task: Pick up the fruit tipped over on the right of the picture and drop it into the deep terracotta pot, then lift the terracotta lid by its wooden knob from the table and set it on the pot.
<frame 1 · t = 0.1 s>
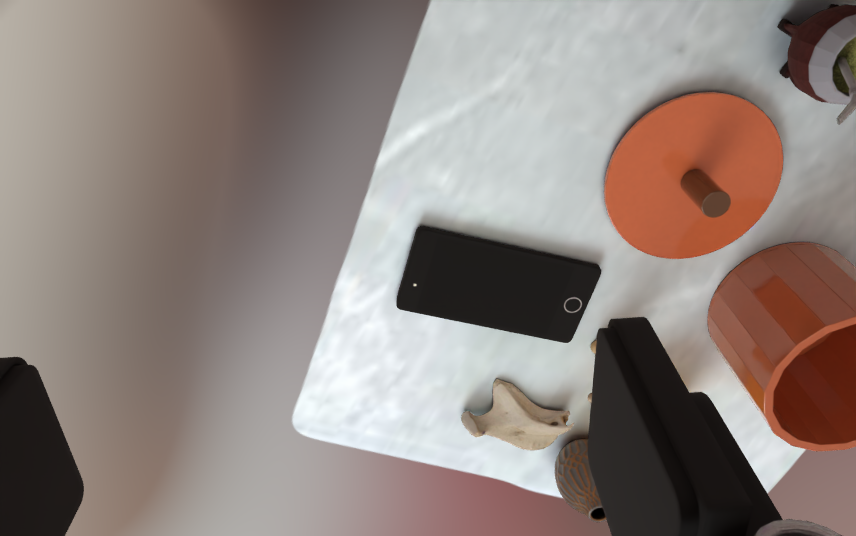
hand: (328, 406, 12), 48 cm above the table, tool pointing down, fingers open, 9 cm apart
vase: (579, 450, 79), on the table
pot: (780, 306, 70), on the table
mate gourd: (801, 44, 57), on the table
lid: (691, 179, 62), point 1 cm above the table
fossil: (512, 411, 75), on the table
cell phone: (496, 283, 67), on the table
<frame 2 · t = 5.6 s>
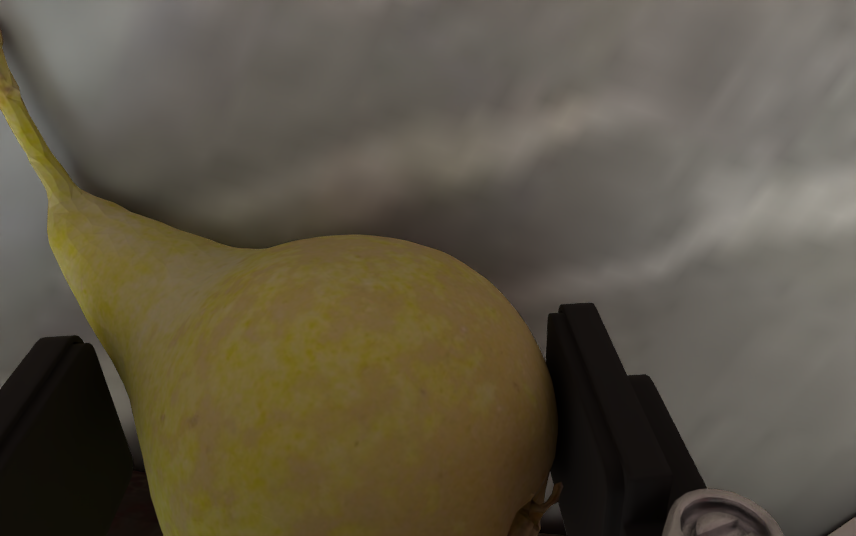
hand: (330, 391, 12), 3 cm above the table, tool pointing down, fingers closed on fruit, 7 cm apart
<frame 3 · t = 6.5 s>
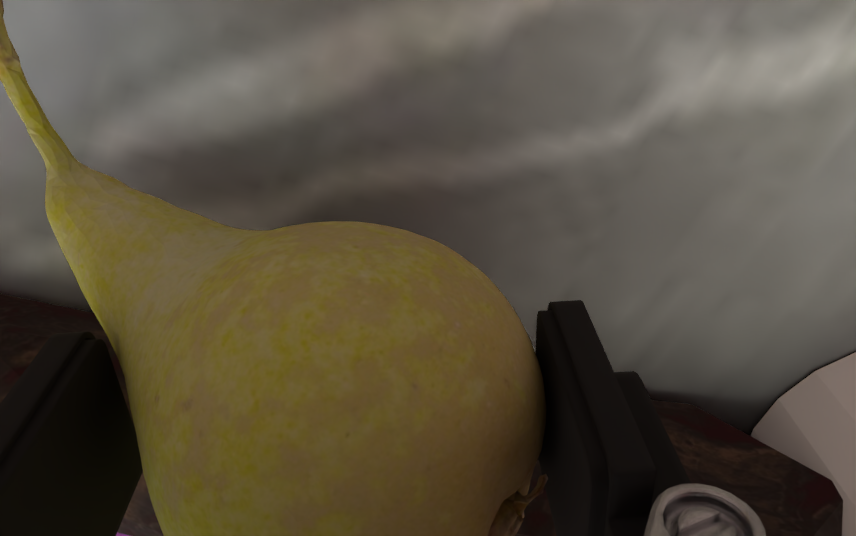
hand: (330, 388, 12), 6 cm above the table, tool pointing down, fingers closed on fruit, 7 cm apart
when the fingers open (15 cm above the table, at t = 15.9 s): fruit drops 15 cm, resting on pot.
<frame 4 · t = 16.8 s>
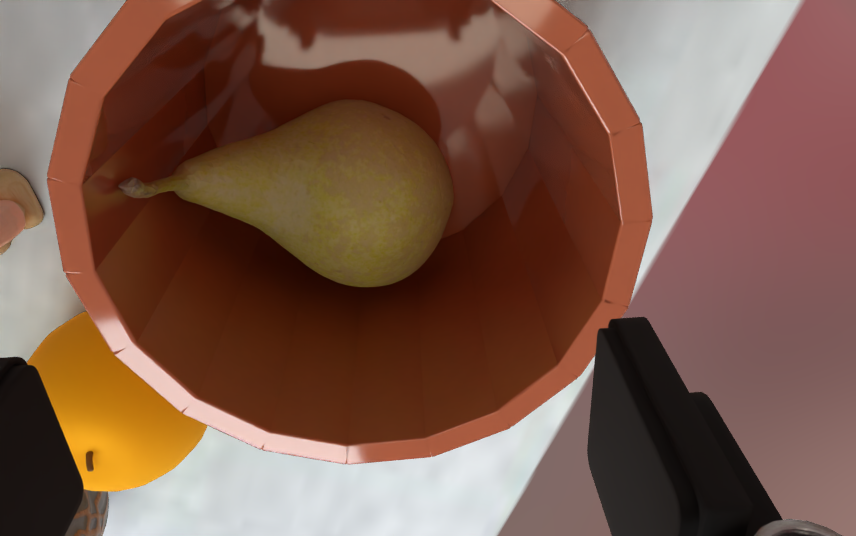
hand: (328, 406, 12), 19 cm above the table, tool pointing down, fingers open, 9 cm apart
vase: (60, 467, 37), on the table
pot: (372, 105, 28), on the table
fruit: (447, 213, 27), point 3 cm above the table, touching pot
apple: (146, 347, 34), on the table
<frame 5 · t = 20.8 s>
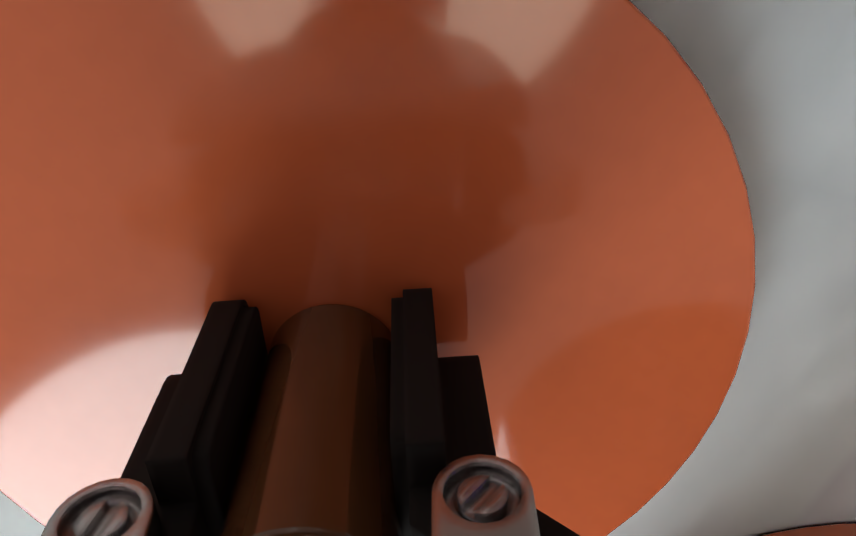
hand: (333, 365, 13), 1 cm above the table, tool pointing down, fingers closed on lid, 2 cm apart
lid: (337, 340, 13), point 1 cm above the table, touching gripper
when the fingers open (13 cm above the table, at t = 26.7 s): lid stays where it is, resting on pot.
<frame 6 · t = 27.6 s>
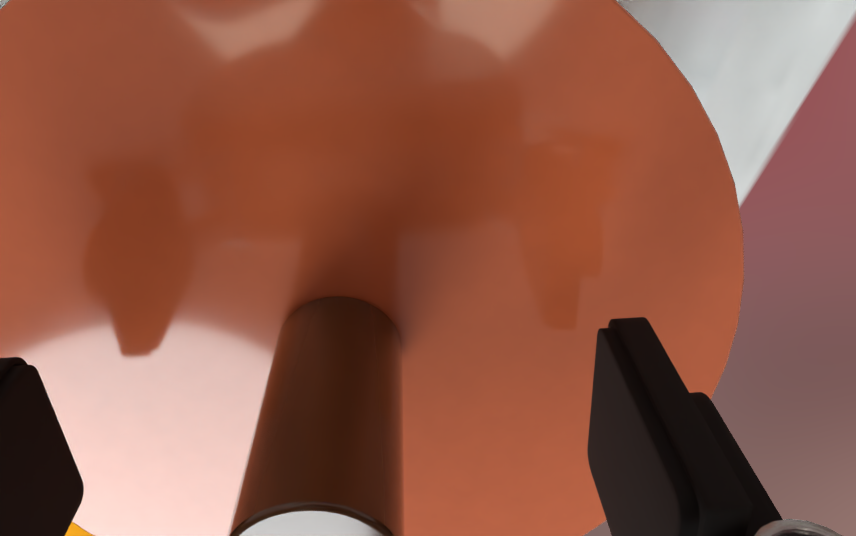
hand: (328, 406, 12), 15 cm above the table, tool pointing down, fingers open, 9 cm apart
lid: (341, 332, 14), point 12 cm above the table, touching pot
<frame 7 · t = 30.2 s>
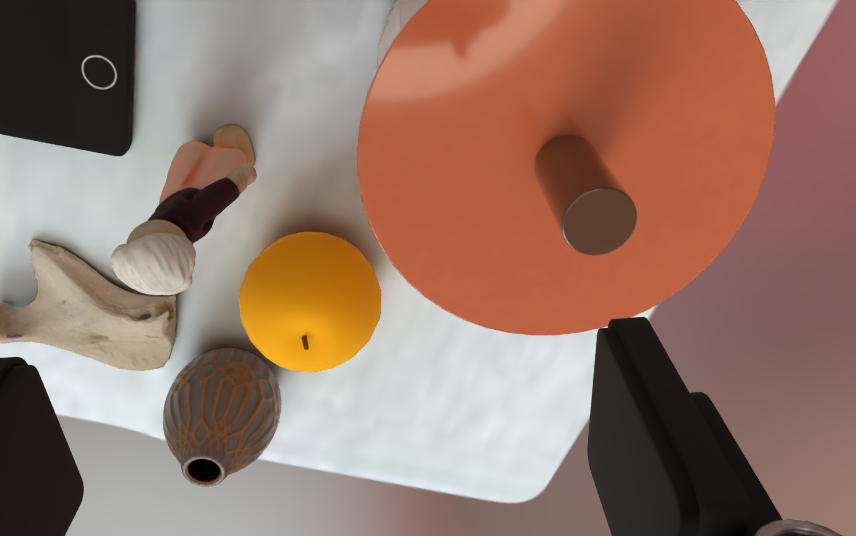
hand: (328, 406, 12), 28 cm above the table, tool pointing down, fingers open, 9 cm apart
grandmother figurine: (213, 163, 39), on the table
vase: (235, 371, 47), on the table
pot: (513, 75, 37), on the table
lid: (562, 160, 27), point 12 cm above the table, touching pot
fossil: (90, 302, 44), on the table
apple: (317, 270, 43), on the table
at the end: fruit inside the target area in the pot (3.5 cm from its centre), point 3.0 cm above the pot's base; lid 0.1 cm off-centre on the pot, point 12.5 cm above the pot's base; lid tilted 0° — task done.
